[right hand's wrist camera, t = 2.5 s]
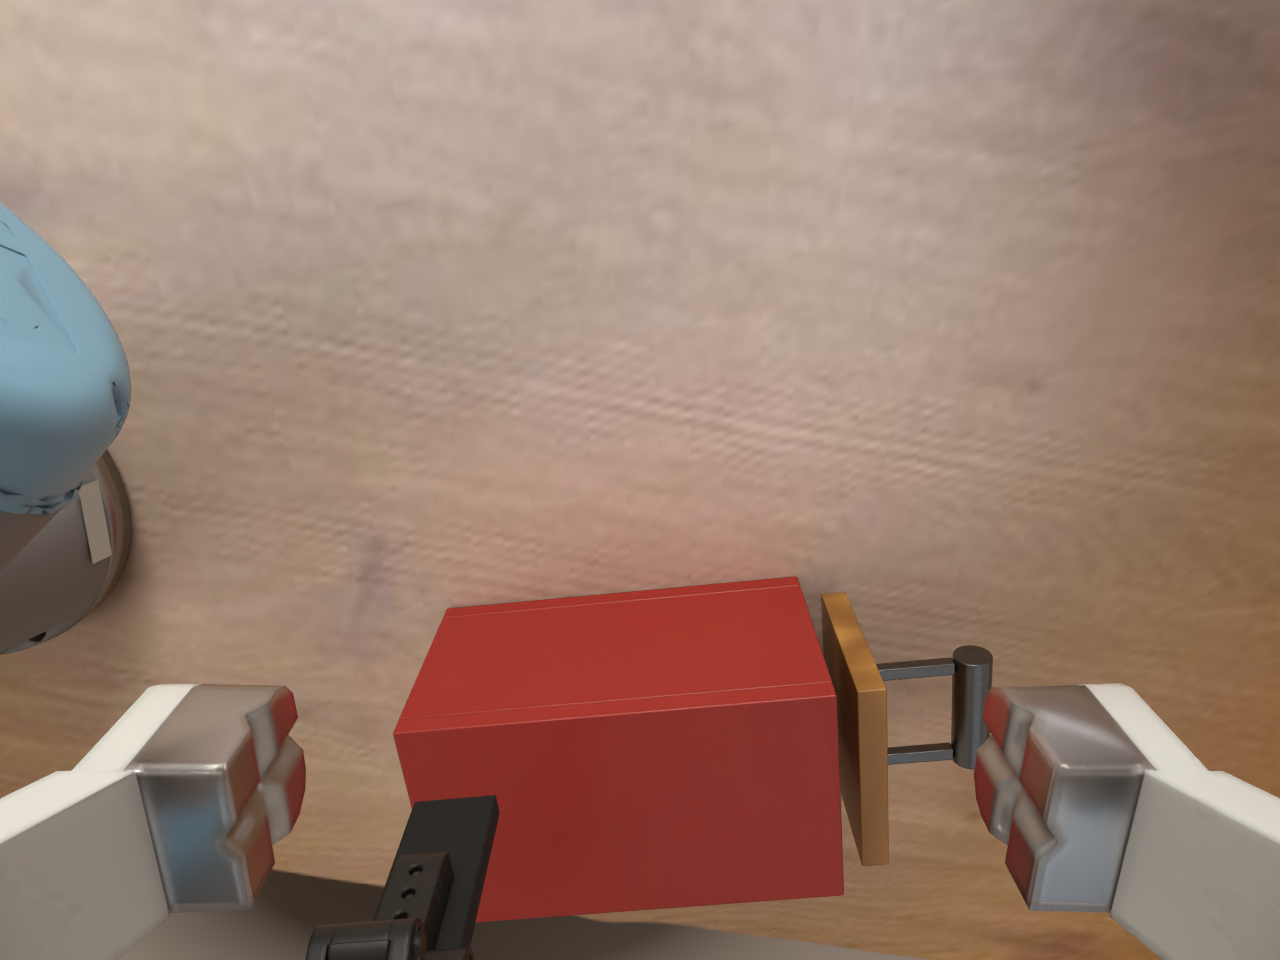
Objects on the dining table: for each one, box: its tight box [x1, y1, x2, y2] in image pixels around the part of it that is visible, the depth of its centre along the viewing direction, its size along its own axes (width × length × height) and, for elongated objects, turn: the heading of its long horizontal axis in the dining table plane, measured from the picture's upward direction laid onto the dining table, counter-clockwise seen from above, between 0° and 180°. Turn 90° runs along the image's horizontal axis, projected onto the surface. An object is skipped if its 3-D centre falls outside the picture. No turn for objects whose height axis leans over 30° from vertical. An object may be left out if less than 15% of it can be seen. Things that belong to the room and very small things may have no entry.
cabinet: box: [393, 577, 844, 922], centre depth 42 cm, size 18×10×10 cm, turn 96°
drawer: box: [821, 592, 993, 866], centre depth 42 cm, size 23×9×8 cm, turn 96°
